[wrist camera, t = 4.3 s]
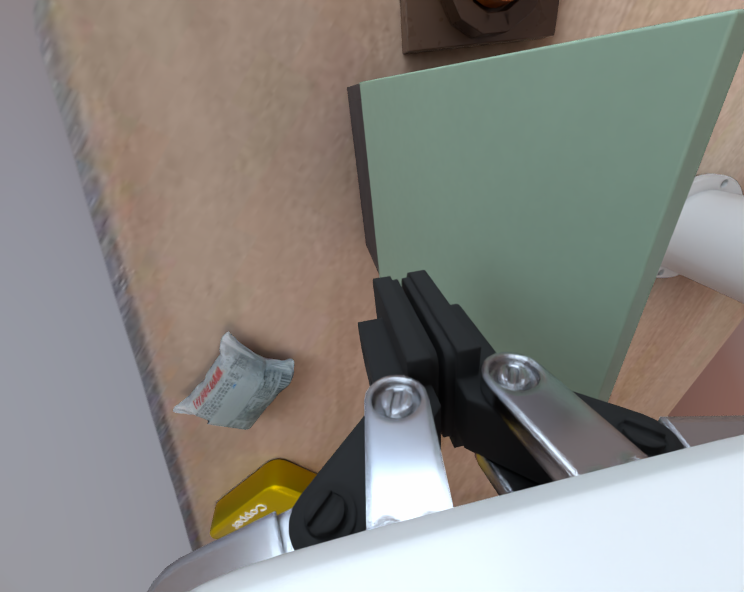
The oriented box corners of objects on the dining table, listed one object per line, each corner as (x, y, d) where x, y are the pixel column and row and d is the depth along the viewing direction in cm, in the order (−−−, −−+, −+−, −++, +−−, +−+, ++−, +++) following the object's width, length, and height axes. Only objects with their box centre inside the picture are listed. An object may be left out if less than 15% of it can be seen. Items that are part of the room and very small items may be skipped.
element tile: (275, 454, 48) (273, 487, 44) (347, 486, 55) (351, 517, 51) (209, 506, 51) (201, 541, 47) (285, 530, 58) (284, 562, 54)
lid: (762, 7, 6) (738, 8, 6) (585, 461, 13) (571, 471, 13) (371, 81, 19) (358, 82, 19) (389, 287, 26) (380, 290, 26)
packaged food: (180, 392, 39) (166, 427, 35) (229, 321, 36) (220, 351, 32) (248, 414, 43) (243, 448, 39) (299, 353, 40) (299, 383, 35)
